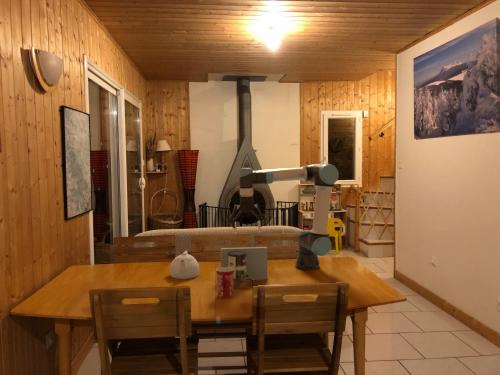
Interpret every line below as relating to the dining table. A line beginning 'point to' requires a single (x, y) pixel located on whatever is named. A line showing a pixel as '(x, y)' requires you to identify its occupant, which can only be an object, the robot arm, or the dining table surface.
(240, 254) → the coffee can
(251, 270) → the backboard
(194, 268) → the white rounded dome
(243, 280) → the cleat ledge
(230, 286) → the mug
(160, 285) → the dining table surface
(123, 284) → the dining table surface
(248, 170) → the robot arm
